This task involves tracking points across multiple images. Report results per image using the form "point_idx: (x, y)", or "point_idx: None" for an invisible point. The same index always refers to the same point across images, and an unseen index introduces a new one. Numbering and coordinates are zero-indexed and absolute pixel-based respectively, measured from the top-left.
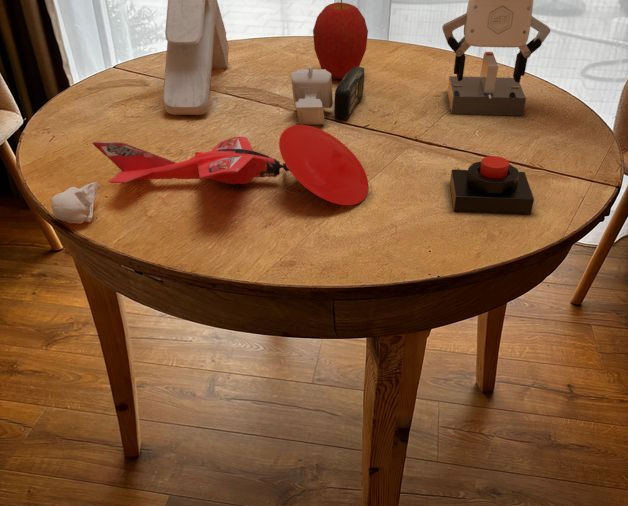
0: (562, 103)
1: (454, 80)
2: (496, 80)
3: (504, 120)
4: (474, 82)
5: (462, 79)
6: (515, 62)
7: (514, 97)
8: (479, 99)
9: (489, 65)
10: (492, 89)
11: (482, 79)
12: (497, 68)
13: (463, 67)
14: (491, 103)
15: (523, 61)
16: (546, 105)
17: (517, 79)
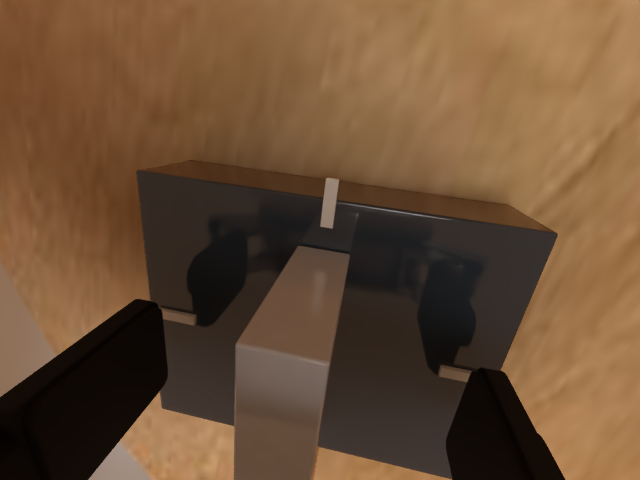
0: (50, 271)
1: None
2: None
3: (274, 112)
4: (357, 397)
5: (475, 372)
6: (114, 445)
7: (194, 186)
8: (388, 205)
9: (316, 374)
10: (302, 255)
11: (329, 382)
12: (246, 332)
13: (513, 447)
14: (320, 189)
15: (16, 386)
16: (100, 260)
17: (142, 306)
